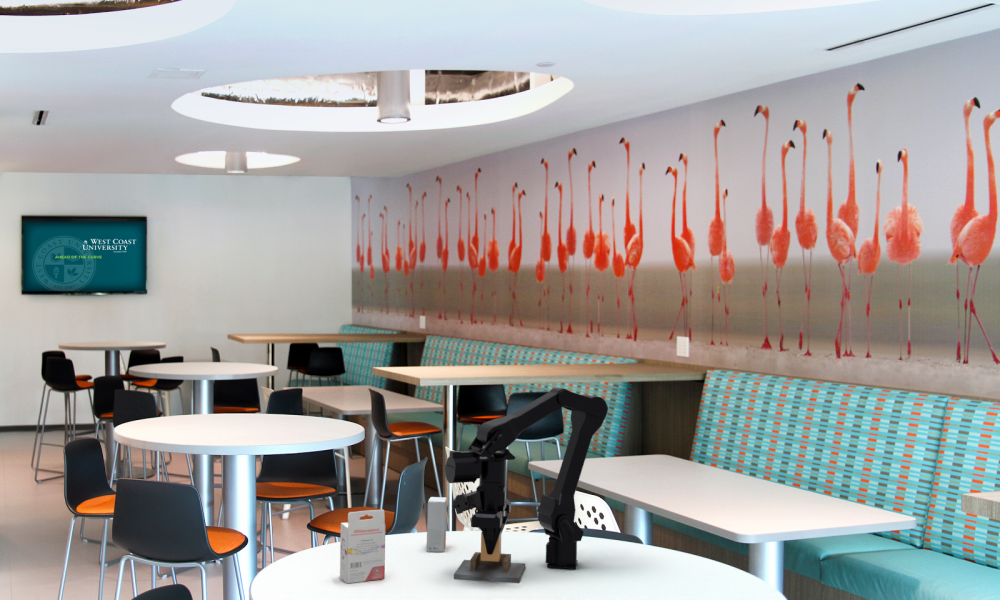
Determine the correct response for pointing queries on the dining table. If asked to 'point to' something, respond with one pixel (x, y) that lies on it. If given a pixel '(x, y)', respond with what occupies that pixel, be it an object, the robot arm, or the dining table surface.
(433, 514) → the skincare box
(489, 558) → the connector plug
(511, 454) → the robot arm
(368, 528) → the ink cartridge box
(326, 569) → the dining table surface
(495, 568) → the end holder
